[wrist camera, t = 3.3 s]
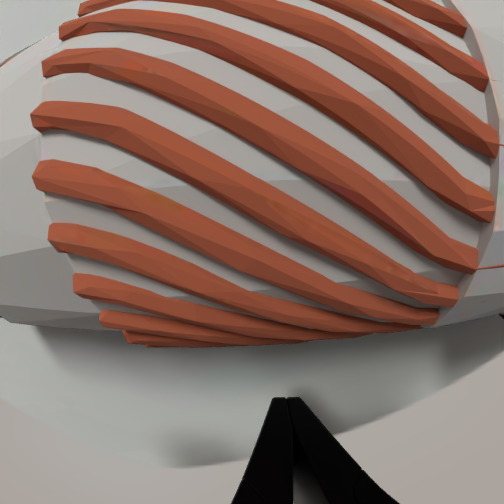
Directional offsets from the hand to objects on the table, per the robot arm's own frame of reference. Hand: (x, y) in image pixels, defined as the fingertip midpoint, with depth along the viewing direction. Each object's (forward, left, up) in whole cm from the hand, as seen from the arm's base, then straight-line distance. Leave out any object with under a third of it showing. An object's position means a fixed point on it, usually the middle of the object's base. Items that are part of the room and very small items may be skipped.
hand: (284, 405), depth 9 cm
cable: (+1, -7, -4) cm, 8 cm away
